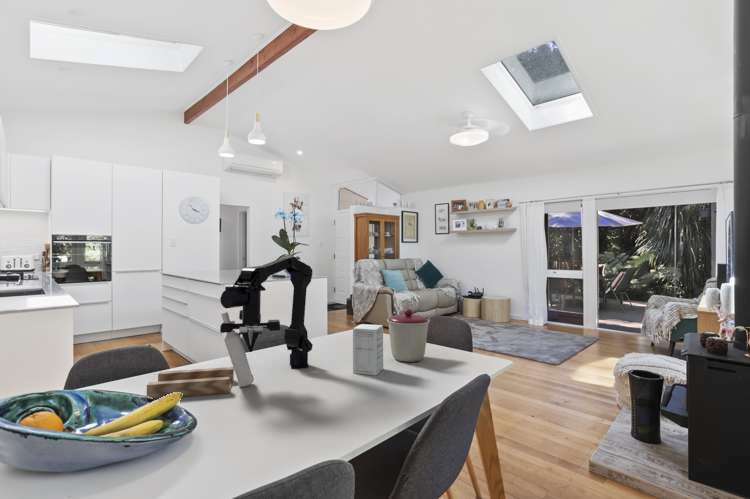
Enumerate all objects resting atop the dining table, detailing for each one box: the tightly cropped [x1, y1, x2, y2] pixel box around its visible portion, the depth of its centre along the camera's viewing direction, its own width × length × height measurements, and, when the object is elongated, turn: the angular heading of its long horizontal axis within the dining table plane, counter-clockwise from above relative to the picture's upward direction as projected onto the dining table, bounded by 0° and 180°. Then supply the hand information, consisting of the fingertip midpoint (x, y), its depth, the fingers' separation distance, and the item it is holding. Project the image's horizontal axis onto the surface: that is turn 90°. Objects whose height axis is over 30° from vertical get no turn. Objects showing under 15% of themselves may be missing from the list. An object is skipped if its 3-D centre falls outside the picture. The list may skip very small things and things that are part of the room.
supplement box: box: [352, 323, 384, 376], centre depth 141 cm, size 10×9×17 cm
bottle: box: [220, 311, 255, 388], centre depth 123 cm, size 5×5×25 cm
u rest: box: [146, 366, 235, 401], centre depth 120 cm, size 23×13×4 cm, turn 104°
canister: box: [386, 308, 431, 363], centre depth 157 cm, size 18×18×21 cm
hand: (250, 351), depth 125 cm, fingers closed
